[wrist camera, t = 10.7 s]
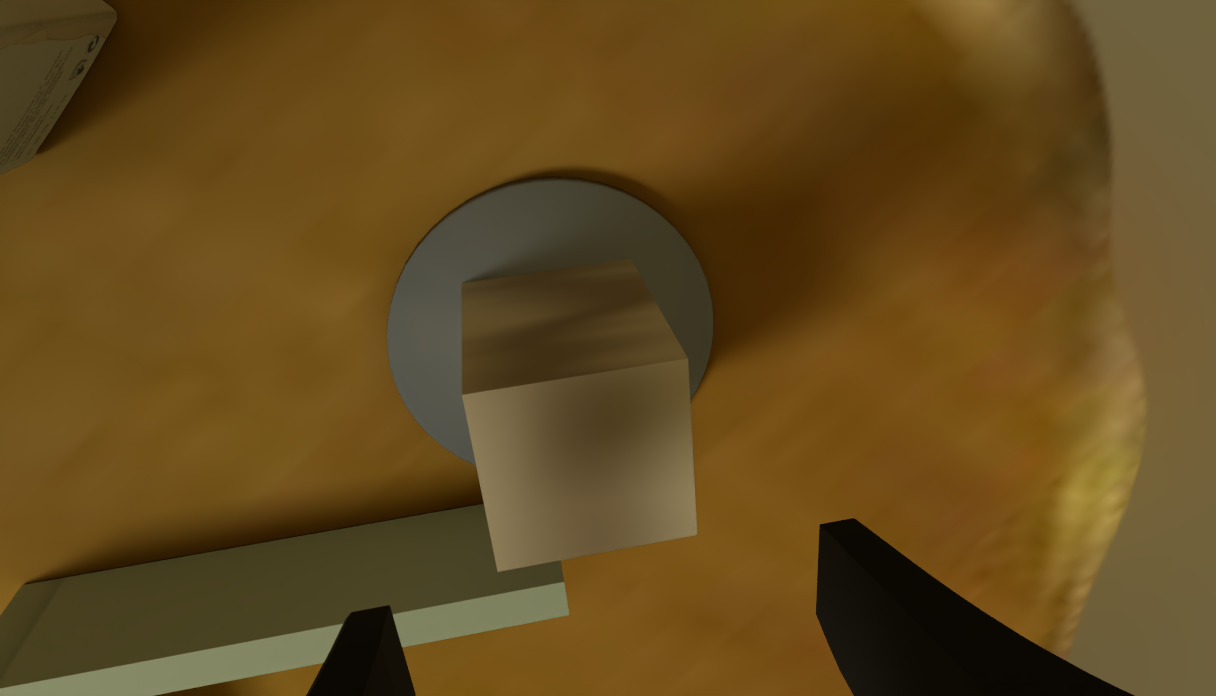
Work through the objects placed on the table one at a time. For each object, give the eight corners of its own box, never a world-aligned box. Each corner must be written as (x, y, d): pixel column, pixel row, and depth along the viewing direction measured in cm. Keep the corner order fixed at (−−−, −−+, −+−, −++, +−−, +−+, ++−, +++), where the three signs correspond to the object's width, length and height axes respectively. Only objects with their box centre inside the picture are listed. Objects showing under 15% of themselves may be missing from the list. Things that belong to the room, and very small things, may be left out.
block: (630, 258, 21) (688, 358, 16) (642, 403, 23) (696, 534, 18) (461, 282, 21) (462, 394, 15) (488, 428, 23) (497, 571, 17)
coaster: (703, 155, 21) (708, 159, 20) (713, 442, 25) (718, 450, 24) (353, 201, 20) (351, 207, 19) (423, 492, 24) (423, 502, 23)
